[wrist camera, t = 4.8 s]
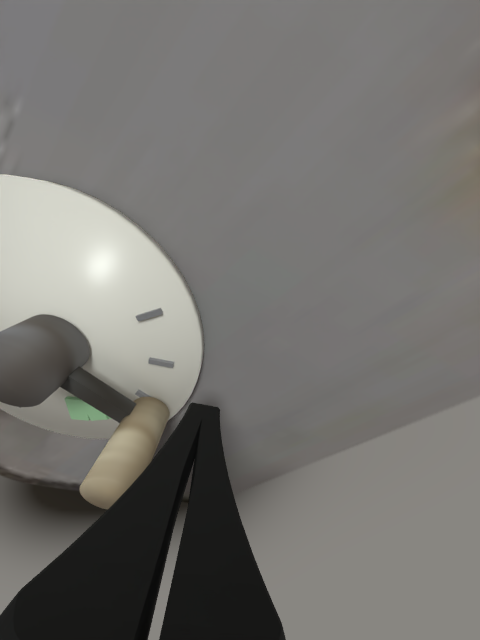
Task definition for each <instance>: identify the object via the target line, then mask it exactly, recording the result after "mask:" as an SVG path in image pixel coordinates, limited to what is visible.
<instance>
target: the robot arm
mask: <svg viewBox="0 0 480 640" xmlns="http://www.w3.org/2000/svg"><path fill="white" fill-rule="evenodd" d="M194 459H195V460H194ZM193 462H194V467H193V474H192V482H191V489H190V496H189V503H188V509H187V514H186V519H185V524H184V528H183V533H182V537H181V542H180V546H179V551H178V556H177V561H176V565H175V570H174V575H173V579H172V583H171V588H170V593H169V597H168V602H167V607H166V611H165V616H164V621H163V625H162V630H161V635H160V639H159V640H286V639H285V635H284V631H283V627H282V623H281V621H280V618H279V616H278V614H277V612H276V609H275V607H274V605H273V602H272V600H271V598H270V595H269V593H268V591H267V588H266V586H265V583H264V581H263V579H262V576H261V574H260V571H259V568H258V566H257V563H256V561H255V558H254V556H253V553H252V550H251V547H250V545H249V542H248V539H247V536H246V533H245V530H244V528H243V525H242V522H241V519H240V516H239V512H238V509H237V506H236V503H235V499H234V496H233V492H232V488H231V484H230V480H229V476H228V472H227V467H226V463H225V458H224V452H223V446H222V440H221V431H220V409H219V408H218V407H213V406H207V405H202V404H196V403H191V404H190V405H189V407H188V409H187V411H186V413H185V415H184V416H183V418H182V420H181V421H180V423H179V425H178V426H177V428H176V429H175V431H174V432H173V433H172V435H171V436H170V438H169V439H168V441H167V442H166V443H165V445H164V446H163V447H162V449H161V450H160V451H159V452H158V454H157V455H156V456H155V458H154V459H153V460H152V461H151V463H150V464H149V465H148V466H147V467H146V469H145V470H144V471H143V472H142V473H141V474H140V476H139V477H138V478H137V479H136V480H135V481H134V482H133V484H132V485H131V486H130V487H129V488H128V489H127V490H126V491H125V492H124V493H123V494H122V495H121V496H120V497H119V499H118V500H117V501H116V502H115V503H114V504H113V505H112V506H111V507H110V508H109V509H108V510H107V511H106V512H105V513H104V514H103V515H102V516H101V517H100V518H99V519H98V520H97V521H96V522H95V523H94V524H93V525H92V526H91V527H89V528H88V529H87V530H86V531H85V532H84V533H83V534H82V535H81V536H80V537H79V538H78V539H77V540H76V541H75V542H74V543H73V544H72V545H71V546H69V548H67V549H66V550H65V551H64V552H63V553H62V554H61V555H60V556H58V557H57V558H56V559H55V560H54V561H53V562H52V563H50V564H49V565H48V566H47V567H46V568H45V569H44V570H42V571H41V572H40V573H39V574H38V575H37V576H36V577H34V578H33V579H32V580H31V581H30V582H29V583H28V584H26V585H25V586H24V587H23V588H22V589H21V590H20V591H19V592H18V594H17V595H16V596H15V597H14V599H13V600H12V601H11V602H10V604H9V605H8V606H7V607H6V609H5V610H4V611H3V613H2V614H1V615H0V640H148V635H149V631H150V627H151V623H152V618H153V614H154V610H155V605H156V601H157V597H158V592H159V588H160V584H161V579H162V575H163V571H164V567H165V562H166V558H167V554H168V550H169V545H170V541H171V536H172V533H173V529H174V525H175V521H176V517H177V514H178V511H179V507H180V504H181V501H182V498H183V494H184V491H185V488H186V485H187V481H188V478H189V475H190V472H191V468H192V465H193Z"/></svg>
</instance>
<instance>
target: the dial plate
mask: <svg viewBox="0 0 480 640" xmlns="http://www.w3.org/2000/svg"><path fill="white" fill-rule="evenodd" d="M40 314H48V315H54V316H57V317H60V318H62V319H64V320H66V321H68V322H70V323H71V324H73V325H74V326H75V327H76V328H77V329H78V330H79V331H80V332H81V333H82V334H83V336H84V337H85V339H86V340H87V343H88V346H89V351H90V353H89V359H88V361H87V362H86V364H85V365H84V366H82V367H81V368H83V369H84V370H86V371H87V372H89V373H90V374H92V375H93V376H95V377H96V378H98V379H99V380H101V381H103V382H104V383H106V384H107V385H109V386H110V387H112V388H113V389H115V390H116V391H118V392H119V393H121V394H122V395H124V396H125V397H127V398H129V399H130V400H132V401H133V402H134V401H135V400H136V399H138V398H140V397H153V398H156V399H159V400H160V401H162V402H163V403H164V404H166V406H167V407H168V409H169V412H170V416H169V419H171V418H172V417H173V416H174V415H176V414H177V413H178V411H179V410H180V409H181V408H182V407H183V406H184V405H185V403H186V402H187V400H188V399H189V397H190V396H191V394H192V392H193V389H194V387H195V385H196V382H197V379H198V376H199V373H200V369H201V365H202V361H203V353H204V334H203V326H202V322H201V317H200V313H199V310H198V307H197V304H196V301H195V299H194V296H193V294H192V292H191V290H190V288H189V286H188V284H187V282H186V280H185V278H184V277H183V275H182V274H181V272H180V271H179V269H178V268H177V266H176V265H175V263H174V262H173V260H172V259H171V258H170V257H169V256H168V254H167V253H166V252H165V251H164V250H163V249H162V247H161V246H160V245H159V244H158V243H157V242H156V241H155V240H154V239H153V238H152V237H151V236H150V235H149V234H148V233H147V232H145V231H144V230H143V229H142V228H141V227H140V226H139V225H137V224H136V223H135V222H133V221H132V220H131V219H129V218H128V217H127V216H125V215H124V214H123V213H121V212H120V211H118V210H117V209H115V208H113V207H111V206H110V205H108V204H106V203H105V202H103V201H101V200H99V199H97V198H95V197H93V196H91V195H88V194H86V193H84V192H81V191H79V190H77V189H74V188H71V187H67V186H64V185H61V184H57V183H54V182H49V181H43V180H38V179H32V178H25V177H19V176H12V175H0V331H2V330H5V329H7V328H9V327H11V326H13V325H15V324H18V323H20V322H22V321H24V320H26V319H28V318H31V317H33V316H36V315H40ZM0 409H1V410H3V411H5V412H7V413H9V414H10V415H12V416H14V417H16V418H18V419H21V420H23V421H25V422H27V423H29V424H32V425H35V426H37V427H40V428H43V429H46V430H49V431H52V432H56V433H59V434H64V435H68V436H73V437H80V438H88V439H110V438H111V436H112V435H113V433H114V432H115V430H116V428H117V427H118V425H119V424H120V423H118V422H117V421H115V420H113V419H112V418H110V417H108V416H107V415H105V414H104V413H102V412H100V411H99V410H97V409H95V408H94V407H92V406H90V405H89V404H87V403H86V402H84V401H82V400H81V399H79V398H77V397H76V396H74V395H72V394H71V393H69V392H68V391H66V390H64V389H63V388H61V387H59V388H58V389H57V390H56V391H55V392H54V393H52V394H51V395H50V396H49V397H48V398H47V399H46V400H45V401H44V402H42V403H41V404H39V405H36V406H33V407H17V406H12V405H8V404H5V403H2V402H0ZM169 419H168V420H169Z"/></svg>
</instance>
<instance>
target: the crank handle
mask: <svg viewBox="0 0 480 640" xmlns="http://www.w3.org/2000/svg"><path fill="white" fill-rule="evenodd" d="M89 353H90V351H89V346H88V343H87V340H86V339H85V337H84V336H83V334H82V333H81V332H80V331H79V330H78V329H77V328H76V327H75V326H74V325H73V324H71V323H70V322H68V321H66V320H64V319H62V318H60V317H57V316H54V315H48V314H40V315H36V316H33V317H31V318H28V319H26V320H24V321H22V322H20V323H18V324H15V325H13V326H11V327H9V328H7V329H5V330H2V331H0V402H2V403H5V404H8V405H12V406H17V407H33V406H36V405H39V404H41V403H42V402H44V401H45V400H46V399H47V398H48V397H49V396H50V395H51V394H52V393H54V392H55V391H56V390H57V389H58V388H59V387H61V388H63V389H64V390H66V391H68V392H69V393H71V394H72V395H74V396H76V397H77V398H79V399H81V400H82V401H84V402H86V403H87V404H89V405H90V406H92V407H94V408H95V409H97V410H99V411H100V412H102V413H104V414H105V415H107V416H108V417H110V418H112V419H113V420H115V421H117V422H118V423H120V424H119V425H118V427H117V428H116V430H115V432H114V433H113V435H112V436H111V438H110V440H109V441H108V443H107V444H106V446H105V448H104V449H103V451H102V452H101V454H100V456H99V457H98V459H97V460H96V462H95V464H94V465H93V467H92V468H91V470H90V472H89V473H88V475H87V476H86V478H85V479H84V481H83V483H82V484H81V486H80V493H81V495H82V496H83V497H84V498H85V499H86V500H87V501H88V502H90V503H92V504H93V505H95V506H97V507H100V508H103V509H109V508H110V507H111V506H112V505H113V504H114V503H115V502H116V501H117V500H118V499H119V497H120V496H121V495H122V494H123V493H124V492H125V491H126V490H127V489H128V488H129V487H130V486H131V485H132V484H133V482H134V481H135V480H136V479H137V478H138V477H139V476H140V474H141V473H142V472H143V471H144V470H145V469H146V467H147V466H148V465H149V464H150V463H151V461H152V459H153V456H154V454H155V451H156V449H157V446H158V444H159V441H160V439H161V436H162V434H163V431H164V429H165V426H166V424H167V421H168V419H169V416H170V412H169V409H168V407H167V406H166V404H164V403H163V402H162V401H160V400H159V399H156V398H153V397H140V398H138V399H136V400H135V401H134V402H133V401H132V400H130V399H129V398H127V397H125V396H124V395H122V394H121V393H119V392H118V391H116V390H115V389H113V388H112V387H110V386H109V385H107V384H106V383H104V382H103V381H101V380H99V379H98V378H96V377H95V376H93V375H92V374H90V373H89V372H87V371H86V370H84V369H83V368H81V367H82V366H84V365H85V364H86V362H87V361H88V359H89Z"/></svg>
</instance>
